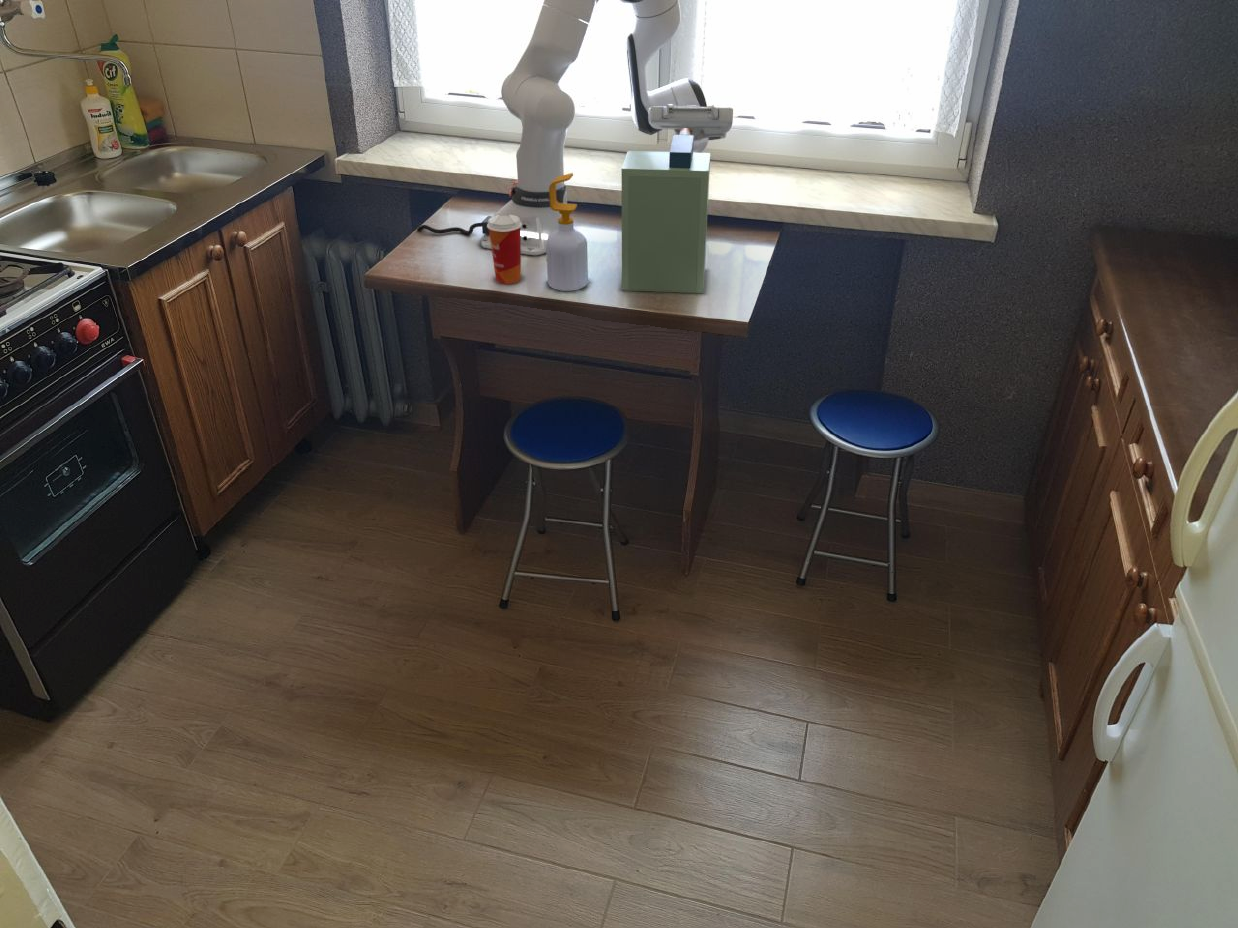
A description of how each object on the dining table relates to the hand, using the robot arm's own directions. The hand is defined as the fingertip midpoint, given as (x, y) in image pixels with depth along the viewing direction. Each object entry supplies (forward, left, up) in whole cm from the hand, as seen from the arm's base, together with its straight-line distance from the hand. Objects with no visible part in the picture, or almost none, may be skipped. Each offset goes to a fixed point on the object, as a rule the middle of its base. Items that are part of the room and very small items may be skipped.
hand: (690, 108), depth 222 cm
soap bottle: (-22, -34, -31) cm, 51 cm away
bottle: (+2, -23, -4) cm, 23 cm away
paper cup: (-36, -34, -31) cm, 59 cm away
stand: (-1, -28, -31) cm, 42 cm away
